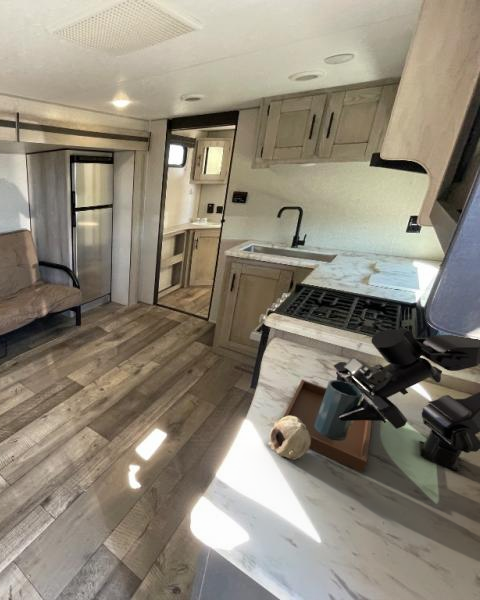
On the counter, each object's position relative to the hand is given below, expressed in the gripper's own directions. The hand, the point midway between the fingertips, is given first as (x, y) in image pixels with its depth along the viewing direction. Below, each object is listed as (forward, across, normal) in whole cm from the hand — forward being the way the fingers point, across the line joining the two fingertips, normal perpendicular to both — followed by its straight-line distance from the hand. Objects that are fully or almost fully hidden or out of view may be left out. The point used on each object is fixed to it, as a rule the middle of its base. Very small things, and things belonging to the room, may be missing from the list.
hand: (331, 409), depth 79 cm
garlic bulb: (+15, +5, 0) cm, 16 cm away
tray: (+4, -8, +11) cm, 14 cm away
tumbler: (+4, 0, +6) cm, 7 cm away
